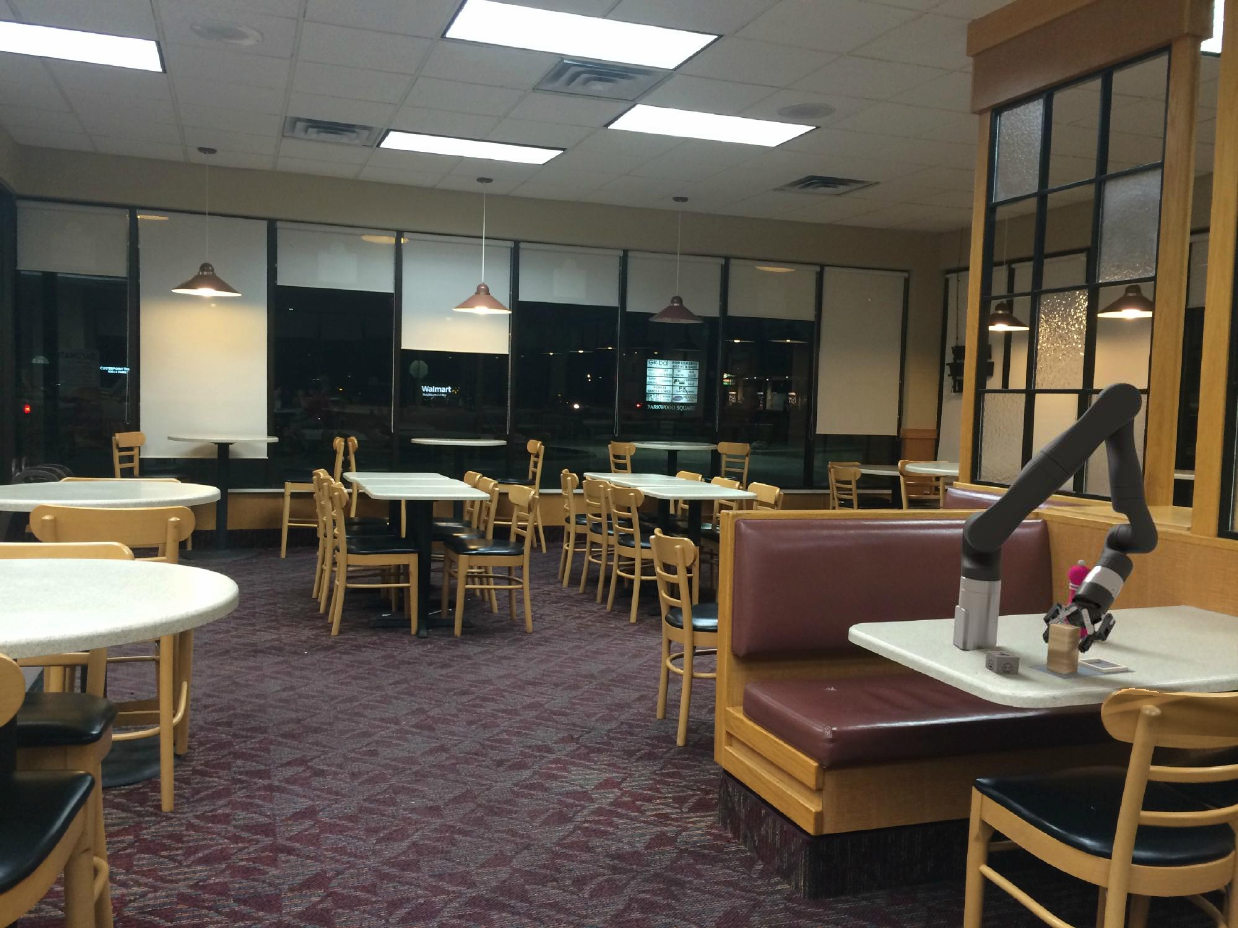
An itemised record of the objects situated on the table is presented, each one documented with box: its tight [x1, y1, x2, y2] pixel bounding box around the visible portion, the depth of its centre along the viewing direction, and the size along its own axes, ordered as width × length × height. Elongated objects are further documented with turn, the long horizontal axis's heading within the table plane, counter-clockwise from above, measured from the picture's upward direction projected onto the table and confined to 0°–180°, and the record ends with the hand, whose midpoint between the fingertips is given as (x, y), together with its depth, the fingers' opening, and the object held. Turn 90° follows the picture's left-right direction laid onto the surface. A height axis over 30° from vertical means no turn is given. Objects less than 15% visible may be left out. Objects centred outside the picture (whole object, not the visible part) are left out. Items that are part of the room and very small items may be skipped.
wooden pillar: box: [1046, 622, 1081, 674], centre depth 212 cm, size 4×4×10 cm
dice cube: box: [984, 650, 1020, 675], centre depth 210 cm, size 5×5×5 cm
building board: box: [1027, 657, 1136, 680], centre depth 215 cm, size 22×10×2 cm, turn 114°
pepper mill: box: [1063, 559, 1092, 638], centre depth 253 cm, size 7×7×20 cm
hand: (1062, 645), depth 212 cm, fingers open, 8 cm apart
